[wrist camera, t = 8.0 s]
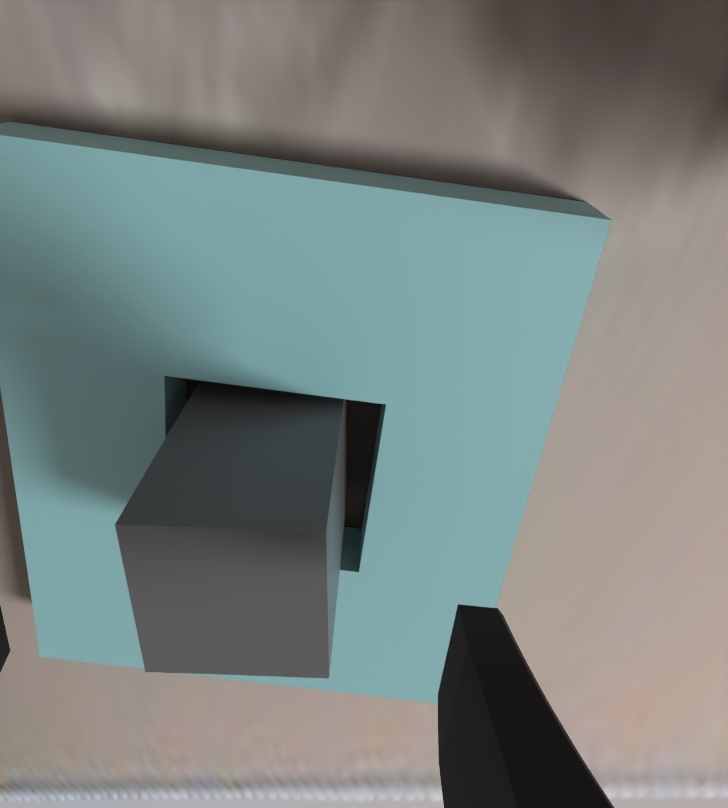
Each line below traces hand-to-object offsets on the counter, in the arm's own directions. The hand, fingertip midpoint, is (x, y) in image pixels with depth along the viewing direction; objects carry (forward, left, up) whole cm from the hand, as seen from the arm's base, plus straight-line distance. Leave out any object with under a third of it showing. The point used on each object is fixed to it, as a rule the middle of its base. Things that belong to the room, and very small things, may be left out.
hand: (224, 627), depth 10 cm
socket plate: (0, +2, -9) cm, 10 cm away
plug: (0, +2, -9) cm, 10 cm away
